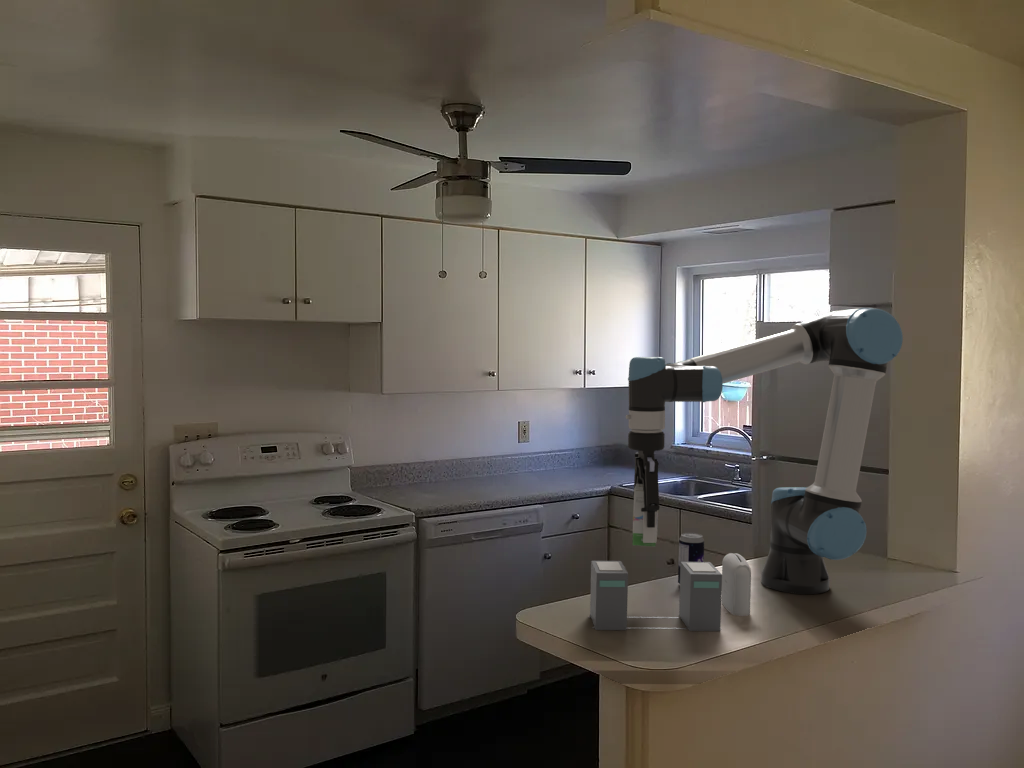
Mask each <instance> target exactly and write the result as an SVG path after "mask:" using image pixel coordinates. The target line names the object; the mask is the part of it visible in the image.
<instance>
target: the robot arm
mask: <svg viewBox="0 0 1024 768" xmlns="http://www.w3.org/2000/svg"><path fill="white" fill-rule="evenodd" d="M903 335H904V334H903V331H902V328H901V326H900V323H899V322H898V320H897V319H896V318H895V316H894V315H893V314H891V313H890V312H888V311H887V310H883V309H880V308H873V307H859V308H852V309H851V308H850V309H844V308H843V309H838V310H833V311H830V312H827V313H824V314H822V315H818V316H816V317H813V318H811V319H808V320H806V321H805V320H804V321H802V322H798V323H795V324H793V325H792V326H791V328H790V329H789V330H787V331H783V332H780V333H776V334H773V335H769V336H765V337H762V338H758V339H755V340H752V341H748V342H744V343H741V344H737V345H734V346H730V347H727V348H724V349H720V350H716V351H712V352H709V353H705V354H702V355H699V356H698V355H697V356H694V357H692V358H688V359H685V360H681V361H678V362H674V363H672V362H666V360H665V358H664V357H661V356H635V357H632V358H631V359H630V361H629V367H628V378H627V381H628V414H626V415H625V419H626V420H628V429H629V432H628V437H627V446H628V449H630V450H632V451H637V452H635V453H634V479H633V489H634V488H635V486H636V484H643V491H644V508H641V512H643V543H656V544H657V538H658V527H657V510H658V511H659V510H660V497H659V495H660V493H659V492H660V490H659V489H658V485H659V462H658V459H657V458H655V452H656V451H657V452H659V451H662V450H664V448H665V438H666V437H665V436H666V435H665V434H666V433H664V431H663V430H665V428H666V406H665V405H666V403H682V402H683V403H685V402H686V403H689V402H690V403H694V402H695V403H699V402H700V403H707V402H717V400H719V399H720V397H721V395H722V393H723V384H727V383H730V382H734V381H737V380H740V379H741V380H742V379H744V378H748V377H751V376H754V375H758V374H762V373H766V372H769V371H772V370H775V369H779V368H783V367H787V366H789V365H794V364H797V363H801V365H810V364H813V363H818V362H827V361H828V368H829V370H831V372H832V373H833V379H832V386H831V389H830V390H831V391H830V394H829V395H830V396H829V401H828V406H827V407H828V408H827V412H826V418H825V423H824V428H823V435H822V439H821V444H820V450H819V454H818V455H819V456H818V461H817V467H816V471H815V478H814V482H813V483H812V484H810V485H809V486H806V487H805V486H804V487H803V486H801V487H800V486H799V487H798V486H797V487H796V486H794V487H792V486H791V487H790V486H788V487H786V486H785V487H782V486H781V487H776V488H775V489H773V490H772V494H771V501H770V505H771V506H770V508H771V509H770V536H769V537H770V542H769V543H770V547H769V553H768V555H767V557H766V559H765V563H764V565H763V568H762V570H761V577H760V578H761V579H760V580H761V581H760V582H761V584H762V585H763V586H765V587H766V588H769V589H771V590H775V591H778V592H779V591H780V592H784V593H787V594H788V593H790V594H799V595H815V594H823V593H826V592H828V591H829V590H830V581H831V580H830V576H829V573H828V569H827V566H826V565H827V564H826V562H825V559H827V560H833V561H841V560H845V559H846V560H847V558H850V557H851V556H853V555H854V554H856V553H857V552H858V551H859V550H861V548H862V547H863V545H864V543H865V541H866V537H867V532H868V531H867V525H866V522H865V521H864V518H863V516H862V515H861V514H860V512H861V506H862V502H863V501H862V498H861V497H860V495H859V494H858V492H857V487H858V481H859V475H860V470H861V465H862V461H863V455H864V450H865V449H864V448H865V444H866V443H865V442H866V438H867V435H868V434H867V432H868V427H869V422H870V417H871V412H872V407H873V406H872V405H873V401H874V396H875V390H876V385H877V382H878V381H879V380H880V379H882V378H883V377H885V376H886V374H887V369H888V364H889V362H890V361H892V360H893V359H894V358H895V357H897V356H898V354H899V353H900V351H901V349H902V345H903V340H904V339H903V338H904V337H903ZM632 494H633V496H634V491H633V492H632ZM824 558H825V559H824Z"/></svg>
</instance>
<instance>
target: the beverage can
mask: <svg viewBox="0 0 1024 768" xmlns="http://www.w3.org/2000/svg"><path fill="white" fill-rule="evenodd" d="M703 537H704V536H703V535H702V534H700V533H695V532H684V533H681V535H680V537H679V540H678V567H677V568H678V570H677V572H678V573H677V574H678V575H677V583H678V584H679V585H680V563H681V562H705V540H704V538H703Z"/></svg>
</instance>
